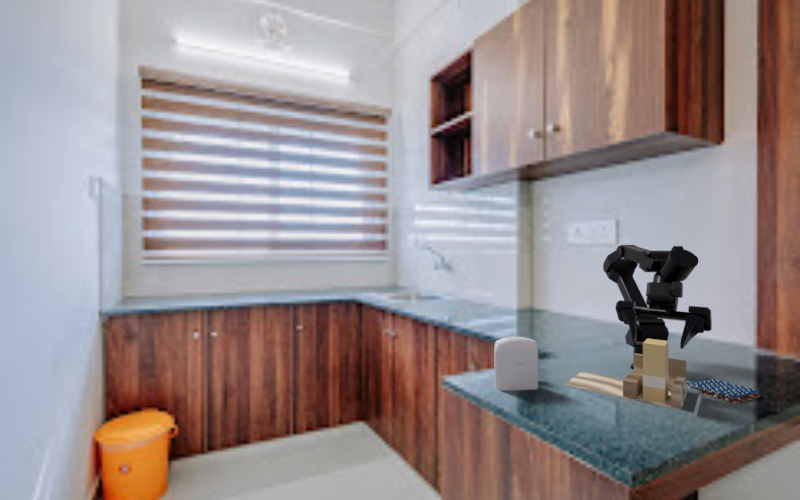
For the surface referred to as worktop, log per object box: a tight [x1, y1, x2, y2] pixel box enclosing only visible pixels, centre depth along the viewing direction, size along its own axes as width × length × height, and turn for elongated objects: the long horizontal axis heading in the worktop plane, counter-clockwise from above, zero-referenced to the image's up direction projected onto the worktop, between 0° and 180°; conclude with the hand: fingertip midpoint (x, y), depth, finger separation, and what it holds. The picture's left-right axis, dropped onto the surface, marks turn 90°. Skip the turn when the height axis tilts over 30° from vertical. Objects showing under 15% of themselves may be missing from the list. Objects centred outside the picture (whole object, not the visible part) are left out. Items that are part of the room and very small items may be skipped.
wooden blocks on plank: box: [563, 353, 688, 411], centre depth 93 cm, size 14×23×8 cm, turn 50°
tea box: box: [643, 338, 669, 403], centre depth 88 cm, size 6×4×12 cm
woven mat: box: [686, 378, 762, 404], centre depth 92 cm, size 10×11×2 cm
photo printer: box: [493, 336, 539, 392], centre depth 94 cm, size 10×4×12 cm, turn 96°
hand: (656, 344), depth 91 cm, fingers open, 9 cm apart
